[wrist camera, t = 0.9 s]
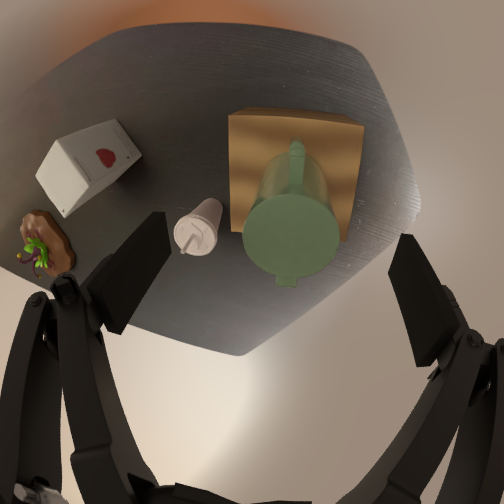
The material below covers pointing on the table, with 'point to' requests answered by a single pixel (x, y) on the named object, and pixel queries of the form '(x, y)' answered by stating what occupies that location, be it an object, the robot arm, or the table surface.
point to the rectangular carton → (86, 164)
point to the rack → (278, 140)
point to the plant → (46, 244)
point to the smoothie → (199, 228)
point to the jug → (291, 218)
